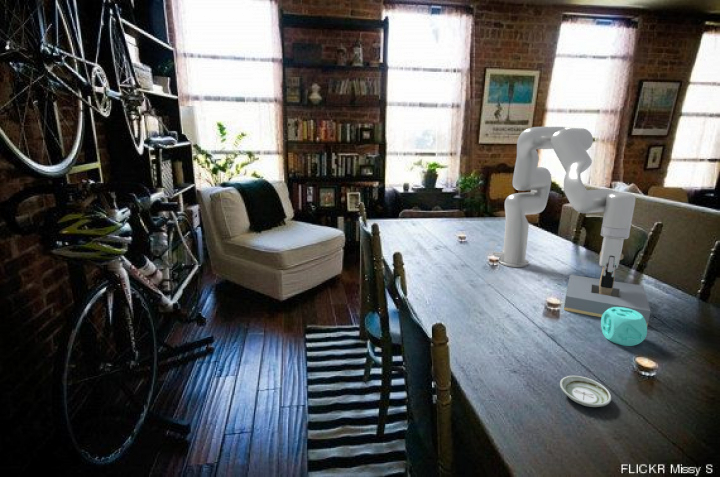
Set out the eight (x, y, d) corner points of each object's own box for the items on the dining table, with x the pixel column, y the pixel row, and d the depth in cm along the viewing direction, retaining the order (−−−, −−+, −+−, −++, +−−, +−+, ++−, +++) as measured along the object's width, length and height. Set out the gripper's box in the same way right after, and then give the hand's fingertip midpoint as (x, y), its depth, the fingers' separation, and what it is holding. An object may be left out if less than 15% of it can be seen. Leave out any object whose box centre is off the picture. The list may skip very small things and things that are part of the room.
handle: (617, 300, 121) (625, 256, 117) (595, 297, 123) (602, 255, 119) (613, 294, 125) (620, 252, 121) (591, 292, 127) (598, 250, 123)
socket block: (563, 309, 121) (565, 295, 120) (568, 287, 139) (570, 274, 138) (647, 326, 110) (650, 311, 109) (640, 299, 128) (643, 285, 127)
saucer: (561, 407, 79) (563, 398, 78) (556, 380, 87) (557, 371, 87) (615, 419, 75) (617, 409, 75) (603, 389, 84) (605, 380, 83)
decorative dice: (644, 347, 99) (650, 320, 97) (611, 345, 101) (616, 318, 99) (629, 332, 107) (633, 307, 105) (598, 330, 108) (603, 305, 106)
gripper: (601, 225, 127) (593, 275, 132) (601, 236, 113) (592, 291, 118) (627, 227, 123) (618, 278, 128) (631, 239, 109) (620, 296, 114)
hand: (606, 284), depth 123 cm, fingers closed on handle, 3 cm apart
